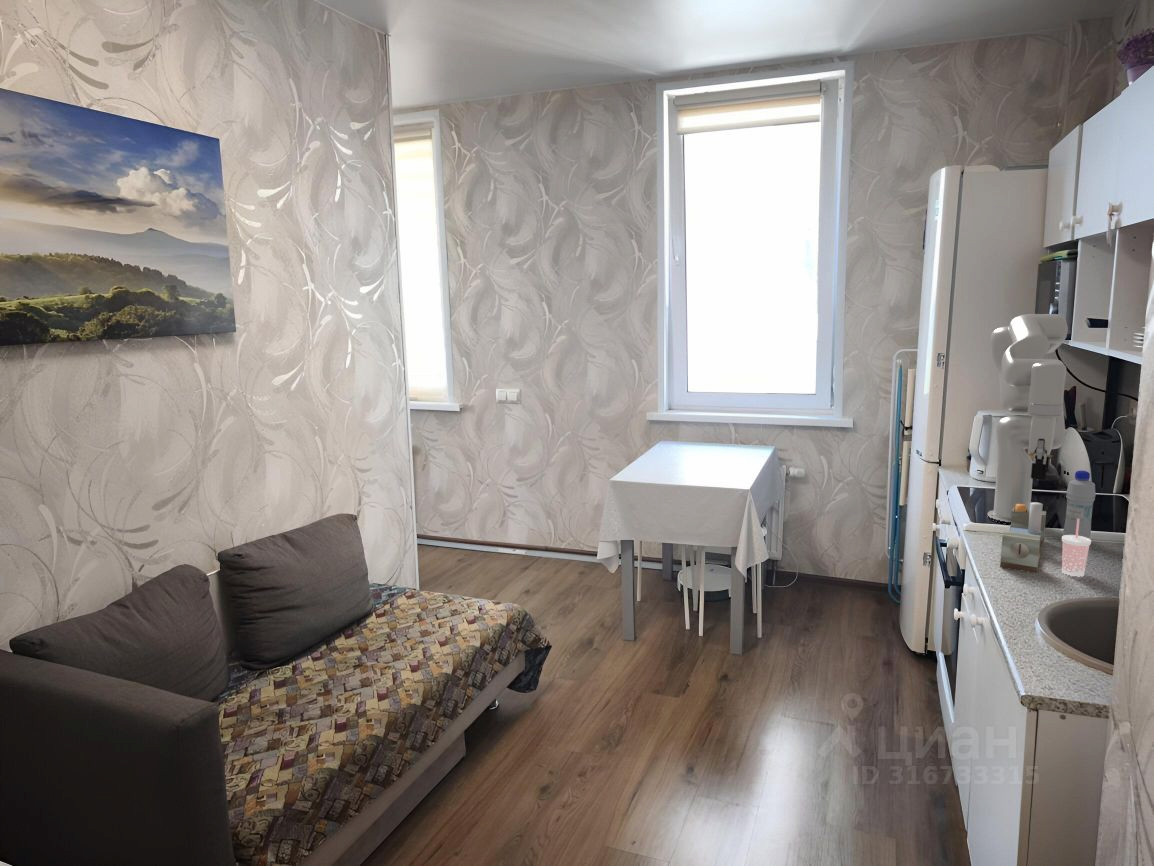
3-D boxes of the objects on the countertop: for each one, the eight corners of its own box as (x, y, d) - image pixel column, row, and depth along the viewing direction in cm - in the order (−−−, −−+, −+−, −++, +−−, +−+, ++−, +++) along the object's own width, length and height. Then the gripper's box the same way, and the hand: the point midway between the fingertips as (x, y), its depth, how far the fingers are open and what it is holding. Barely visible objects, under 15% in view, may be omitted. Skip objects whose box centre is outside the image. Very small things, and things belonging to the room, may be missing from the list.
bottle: (1056, 540, 215) (1063, 469, 211) (1071, 535, 218) (1077, 466, 214) (1081, 546, 209) (1088, 474, 205) (1096, 542, 212) (1103, 471, 208)
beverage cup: (1071, 567, 194) (1076, 514, 192) (1093, 576, 188) (1099, 521, 186) (1052, 571, 192) (1057, 516, 190) (1074, 579, 187) (1080, 523, 184)
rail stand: (1010, 536, 218) (1013, 507, 217) (1043, 541, 214) (1046, 511, 213) (999, 567, 195) (1002, 535, 194) (1036, 573, 191) (1039, 540, 189)
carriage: (1010, 535, 211) (1013, 498, 209) (1040, 540, 207) (1043, 502, 205) (1008, 541, 207) (1011, 503, 205) (1039, 545, 203) (1042, 506, 201)
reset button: (1015, 517, 216) (1016, 503, 216) (1025, 518, 215) (1026, 504, 214) (1014, 519, 214) (1015, 505, 214) (1024, 520, 213) (1026, 506, 212)
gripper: (1030, 405, 208) (1025, 467, 211) (1025, 414, 194) (1020, 480, 197) (1063, 406, 204) (1057, 470, 207) (1060, 416, 190) (1054, 483, 193)
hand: (1039, 475), depth 202 cm, fingers open, 9 cm apart
